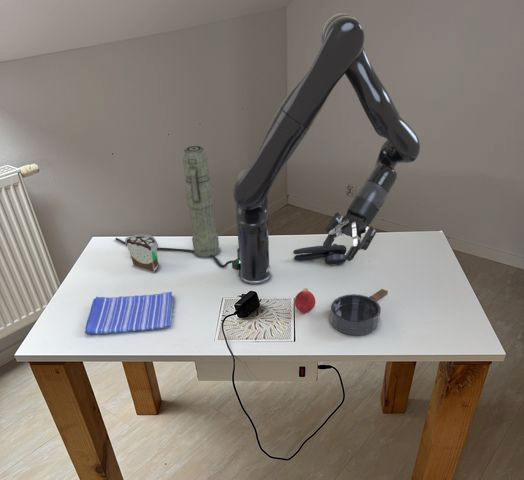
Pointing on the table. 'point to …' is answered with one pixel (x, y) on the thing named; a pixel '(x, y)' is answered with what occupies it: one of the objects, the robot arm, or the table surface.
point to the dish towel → (130, 313)
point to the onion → (305, 301)
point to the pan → (355, 314)
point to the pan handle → (379, 295)
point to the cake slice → (143, 251)
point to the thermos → (200, 202)
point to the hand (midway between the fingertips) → (335, 254)
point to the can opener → (323, 254)
